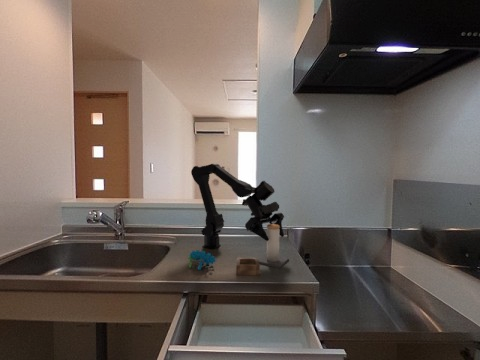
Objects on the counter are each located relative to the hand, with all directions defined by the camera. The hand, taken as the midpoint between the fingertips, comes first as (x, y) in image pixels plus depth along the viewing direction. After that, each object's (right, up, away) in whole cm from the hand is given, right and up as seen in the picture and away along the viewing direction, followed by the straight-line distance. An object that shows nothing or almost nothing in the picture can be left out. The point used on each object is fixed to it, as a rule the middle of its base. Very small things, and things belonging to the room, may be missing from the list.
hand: (275, 238), depth 111 cm
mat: (-1, -10, +2) cm, 10 cm away
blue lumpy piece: (-29, -10, -5) cm, 31 cm away
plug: (-1, -9, +2) cm, 9 cm away
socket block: (-12, -10, -8) cm, 18 cm away
